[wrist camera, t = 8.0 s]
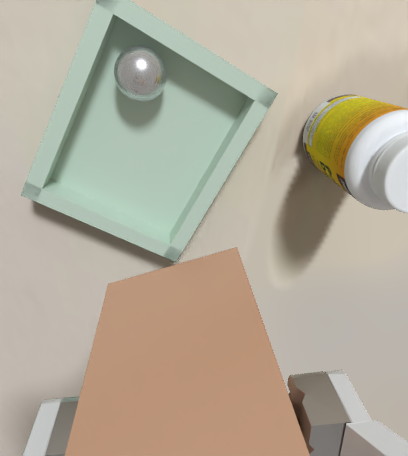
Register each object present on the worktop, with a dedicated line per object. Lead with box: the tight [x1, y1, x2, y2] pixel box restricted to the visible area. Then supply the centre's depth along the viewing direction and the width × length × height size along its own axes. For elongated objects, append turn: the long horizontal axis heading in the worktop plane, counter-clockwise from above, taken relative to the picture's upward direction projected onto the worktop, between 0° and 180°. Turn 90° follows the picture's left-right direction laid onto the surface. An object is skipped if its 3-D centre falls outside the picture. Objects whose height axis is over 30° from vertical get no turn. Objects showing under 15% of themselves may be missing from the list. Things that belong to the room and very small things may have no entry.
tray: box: [21, 0, 278, 262], centre depth 24 cm, size 13×11×2 cm
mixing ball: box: [114, 45, 167, 102], centre depth 21 cm, size 3×3×3 cm
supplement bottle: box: [303, 94, 408, 213], centre depth 22 cm, size 5×5×10 cm
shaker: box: [65, 247, 310, 456], centre depth 9 cm, size 5×5×10 cm
